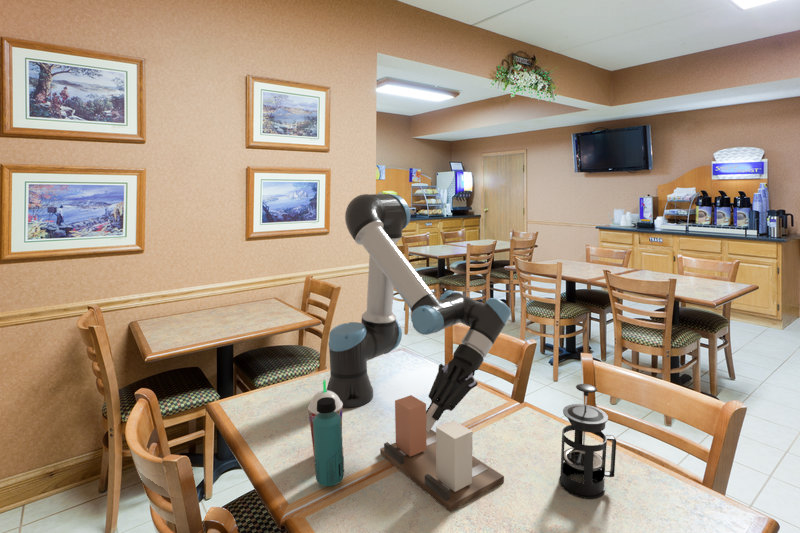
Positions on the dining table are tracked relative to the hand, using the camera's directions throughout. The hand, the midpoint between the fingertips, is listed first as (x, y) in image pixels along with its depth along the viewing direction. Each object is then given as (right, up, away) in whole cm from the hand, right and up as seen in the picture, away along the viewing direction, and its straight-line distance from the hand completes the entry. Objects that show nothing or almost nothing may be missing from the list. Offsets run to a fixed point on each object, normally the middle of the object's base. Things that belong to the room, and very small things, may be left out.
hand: (424, 428), depth 112 cm
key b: (-3, -4, -1) cm, 5 cm away
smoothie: (-24, -7, -1) cm, 25 cm away
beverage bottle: (-22, -8, -11) cm, 26 cm away
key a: (+6, -6, -14) cm, 16 cm away
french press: (+35, -8, -13) cm, 38 cm away
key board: (+3, -7, -6) cm, 10 cm away
